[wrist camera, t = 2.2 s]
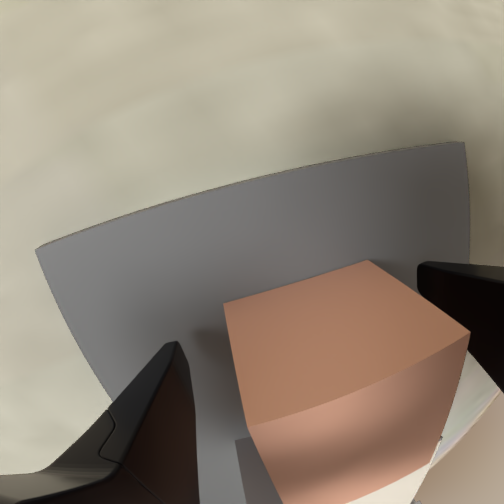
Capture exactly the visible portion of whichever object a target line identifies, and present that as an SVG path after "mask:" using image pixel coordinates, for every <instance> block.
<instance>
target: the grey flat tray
mask: <svg viewBox="0 0 504 504" xmlns="http://www.w3.org/2000/svg"><path fill="white" fill-rule="evenodd" d="M469 247H470V204H469V184H468V171H467V161H466V152H465V144H464V142H447V143H439V144H431V145H423V146H416V147H409V148H403V149H396V150H390V151H384V152H378V153H372V154H366V155H360V156H355V157H349V158H344V159H339V160H334V161H329V162H324V163H319V164H314V165H309V166H305V167H300V168H296V169H291V170H287V171H282V172H278V173H274V174H269V175H265V176H261V177H257V178H253V179H249V180H245V181H241V182H237V183H233V184H229V185H225V186H222V187H218V188H214V189H210V190H207V191H203V192H200V193H196V194H192V195H189V196H185V197H182V198H179V199H175V200H172V201H168V202H165V203H162V204H159V205H155V206H152V207H149V208H146V209H143V210H139V211H136V212H133V213H130V214H127V215H124V216H121V217H118V218H115V219H112V220H109V221H106V222H103V223H100V224H97V225H95V226H92V227H89V228H86V229H83V230H81V231H78V232H75V233H72V234H70V235H67V236H64V237H62V238H59V239H56V240H54V241H51V242H49V243H46V244H44V245H42V246H40V247H39V248H37V249H35V252H36V255H37V258H38V260H39V263H40V265H41V268H42V270H43V273H44V275H45V278H46V280H47V283H48V285H49V287H50V289H51V292H52V294H53V296H54V298H55V301H56V303H57V305H58V307H59V309H60V311H61V313H62V315H63V317H64V319H65V321H66V323H67V325H68V327H69V329H70V331H71V333H72V335H73V337H74V339H75V340H76V342H77V344H78V346H79V348H80V350H81V351H82V353H83V355H84V357H85V358H86V360H87V362H88V363H89V365H90V367H91V368H92V370H93V372H94V373H95V375H96V377H97V378H98V380H99V381H100V383H101V384H102V386H103V388H104V389H105V391H106V392H107V394H108V395H109V397H110V398H111V400H112V401H114V400H115V399H116V398H117V397H118V396H119V395H120V394H121V392H122V391H123V390H124V389H125V388H126V387H127V386H128V385H129V383H130V382H131V381H132V380H133V379H134V378H135V377H136V376H137V374H138V373H139V372H140V371H141V370H142V369H143V368H144V367H145V365H146V364H147V363H148V362H149V361H150V360H151V359H152V357H153V356H154V355H155V354H156V353H157V352H158V351H159V350H160V348H161V347H162V346H163V345H164V344H165V343H168V342H172V341H178V342H179V343H180V345H181V347H182V349H183V351H184V354H185V356H186V358H187V360H188V363H189V367H190V374H191V381H192V388H193V394H194V401H195V410H196V440H197V463H198V481H199V497H200V504H283V502H282V500H281V498H280V496H279V494H278V492H277V490H276V488H275V486H274V484H273V482H272V480H271V478H270V476H269V474H268V472H267V469H266V467H265V465H264V463H263V461H262V459H261V457H260V454H259V452H258V450H257V448H256V446H255V444H254V441H253V439H252V437H251V435H250V432H249V430H248V428H247V424H246V419H245V414H244V410H243V405H242V400H241V395H240V390H239V385H238V380H237V375H236V370H235V365H234V360H233V355H232V350H231V344H230V339H229V334H228V328H227V323H226V317H225V311H224V306H223V303H227V302H230V301H234V300H237V299H241V298H244V297H248V296H251V295H255V294H258V293H262V292H265V291H269V290H272V289H275V288H279V287H282V286H286V285H289V284H292V283H295V282H299V281H302V280H305V279H309V278H312V277H315V276H318V275H321V274H325V273H328V272H331V271H334V270H337V269H340V268H344V267H347V266H350V265H353V264H356V263H359V262H362V261H365V260H369V261H370V262H372V263H373V264H375V265H376V266H378V267H379V268H381V269H382V270H384V271H385V272H387V273H388V274H390V275H391V276H393V277H394V278H396V279H397V280H399V281H400V282H402V283H403V284H405V285H406V286H408V287H409V288H410V289H412V290H413V291H415V292H416V293H418V294H419V295H420V296H421V294H420V293H419V291H418V289H417V266H418V265H419V264H420V263H422V262H425V261H437V262H450V263H462V264H469ZM442 438H443V437H442V436H441V437H440V439H439V442H438V444H437V446H436V449H435V451H434V454H433V456H432V458H431V460H430V463H428V464H427V465H425V466H423V467H421V468H420V469H418V470H416V471H414V472H413V473H411V474H409V475H407V476H405V477H403V478H401V479H399V480H398V481H396V482H394V483H392V484H390V485H387V486H385V487H383V488H381V489H379V490H377V491H375V492H372V493H370V494H368V495H366V496H363V497H361V498H359V499H356V500H354V501H351V502H349V503H346V504H421V502H420V501H418V502H415V500H414V496H415V494H416V493H417V491H418V489H419V487H420V485H421V483H422V481H423V479H424V477H425V475H426V473H427V471H428V469H429V467H430V465H431V463H432V461H433V459H434V456H435V454H436V452H437V450H438V447H439V445H440V443H441V440H442Z"/></svg>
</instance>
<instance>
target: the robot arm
mask: <svg viewBox="0 0 504 504" xmlns="http://www.w3.org/2000/svg"><path fill="white" fill-rule="evenodd" d="M417 289H418V291H419V293H420V294H421V296H422V297H423V298H425V299H426V300H428V301H429V302H430V303H432V304H433V305H435V306H436V307H437V308H439V309H440V310H442V311H443V312H444V313H446V314H447V315H448V316H450V317H451V318H453V319H454V320H455V321H457V322H458V323H459V324H461V325H462V326H463V327H465V328H466V329H467V330H469V331H470V332H471V333H470V338H469V343H468V347H467V350H468V351H469V352H470V353H471V355H472V356H473V357H474V358H475V359H476V360H477V362H478V363H479V364H480V365H481V366H482V367H483V369H484V370H485V371H486V372H487V373H488V375H489V376H490V377H491V378H492V380H493V381H494V382H495V383H496V385H497V386H498V387H499V388H500V390H501V391H502V392H503V393H504V267H499V266H487V265H474V264H462V263H450V262H437V261H425V262H422V263H420V264H419V265H418V266H417ZM0 504H200V497H199V481H198V463H197V440H196V410H195V401H194V394H193V388H192V381H191V374H190V367H189V363H188V360H187V358H186V356H185V354H184V351H183V349H182V347H181V345H180V343H179V342H178V341H172V342H168V343H165V344H164V345H163V346H162V347H161V348H160V350H159V351H158V352H157V353H156V354H155V355H154V356H153V357H152V359H151V360H150V361H149V362H148V363H147V364H146V365H145V367H144V368H143V369H142V370H141V371H140V372H139V373H138V374H137V376H136V377H135V378H134V379H133V380H132V381H131V382H130V383H129V385H128V386H127V387H126V388H125V389H124V390H123V391H122V392H121V394H120V395H119V396H118V397H117V398H116V399H115V400H114V401H113V403H112V404H111V405H110V406H109V407H108V410H105V412H104V413H103V414H102V415H101V416H100V417H99V418H98V419H97V421H96V422H95V423H94V424H93V425H92V426H91V427H90V428H89V429H88V430H87V431H86V432H85V433H84V434H83V435H82V436H81V437H80V438H79V439H78V440H77V441H76V442H75V443H74V444H72V445H71V446H70V447H69V448H68V449H67V450H66V451H65V452H64V453H63V454H62V455H61V456H60V457H59V458H57V459H56V460H55V461H54V462H53V463H52V464H51V465H50V466H48V467H47V468H45V469H43V470H41V471H38V472H35V473H28V474H14V475H0Z"/></svg>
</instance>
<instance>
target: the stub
mask: <svg viewBox="0 0 504 504" xmlns="http://www.w3.org/2000/svg"><path fill="white" fill-rule="evenodd" d="M223 306H224V311H225V317H226V323H227V328H228V334H229V339H230V344H231V350H232V355H233V360H234V365H235V370H236V375H237V380H238V385H239V390H240V395H241V400H242V405H243V410H244V414H245V419H246V424H247V428H248V430H249V432H250V435H251V437H252V439H253V441H254V444H255V446H256V448H257V450H258V452H259V454H260V457H261V459H262V461H263V463H264V465H265V467H266V469H267V472H268V474H269V476H270V478H271V480H272V482H273V484H274V486H275V488H276V490H277V492H278V494H279V496H280V498H281V500H282V502H283V504H346V503H349V502H351V501H354V500H356V499H359V498H361V497H363V496H366V495H368V494H370V493H372V492H375V491H377V490H379V489H381V488H383V487H385V486H387V485H390V484H392V483H394V482H396V481H398V480H399V479H401V478H403V477H405V476H407V475H409V474H411V473H413V472H414V471H416V470H418V469H420V468H421V467H423V466H425V465H427V464H428V463H430V460H431V458H432V456H433V454H434V451H435V449H436V446H437V444H438V442H439V439H440V437H441V434H442V431H443V429H444V426H445V423H446V421H447V418H448V415H449V412H450V409H451V406H452V403H453V400H454V397H455V393H456V390H457V387H458V383H459V380H460V376H461V372H462V368H463V365H464V360H465V356H466V352H467V347H468V343H469V338H470V333H471V332H470V331H469V330H467V329H466V328H465V327H463V326H462V325H461V324H459V323H458V322H457V321H455V320H454V319H453V318H451V317H450V316H448V315H447V314H446V313H444V312H443V311H442V310H440V309H439V308H437V307H436V306H435V305H433V304H432V303H430V302H429V301H428V300H426V299H425V298H423V297H422V296H420V295H419V294H418V293H416V292H415V291H413V290H412V289H410V288H409V287H408V286H406V285H405V284H403V283H402V282H400V281H399V280H397V279H396V278H394V277H393V276H391V275H390V274H388V273H387V272H385V271H384V270H382V269H381V268H379V267H378V266H376V265H375V264H373V263H372V262H370V261H369V260H365V261H362V262H359V263H356V264H353V265H350V266H347V267H344V268H340V269H337V270H334V271H331V272H328V273H325V274H321V275H318V276H315V277H312V278H309V279H305V280H302V281H299V282H295V283H292V284H289V285H286V286H282V287H279V288H275V289H272V290H269V291H265V292H262V293H258V294H255V295H251V296H248V297H244V298H241V299H237V300H234V301H230V302H227V303H223Z"/></svg>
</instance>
